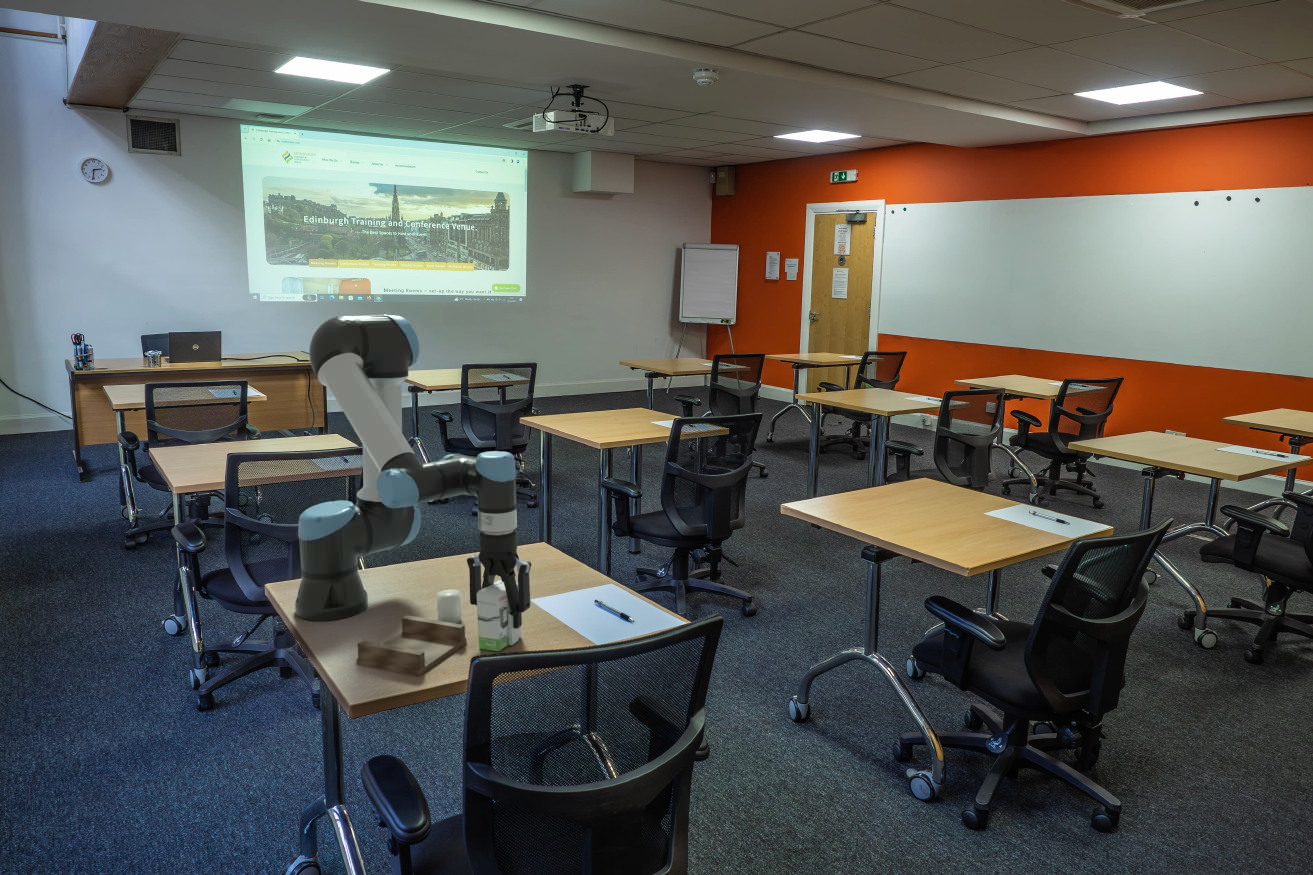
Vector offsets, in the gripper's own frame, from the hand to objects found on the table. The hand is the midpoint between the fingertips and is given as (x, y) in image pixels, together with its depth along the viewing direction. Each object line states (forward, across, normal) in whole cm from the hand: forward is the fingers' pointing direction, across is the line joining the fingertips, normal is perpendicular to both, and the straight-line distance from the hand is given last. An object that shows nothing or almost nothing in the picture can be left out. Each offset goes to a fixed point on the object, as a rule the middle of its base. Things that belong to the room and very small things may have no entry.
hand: (501, 639), depth 171 cm
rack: (0, -13, -11) cm, 17 cm away
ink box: (+1, 0, 0) cm, 1 cm away
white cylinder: (0, -16, +6) cm, 17 cm away
